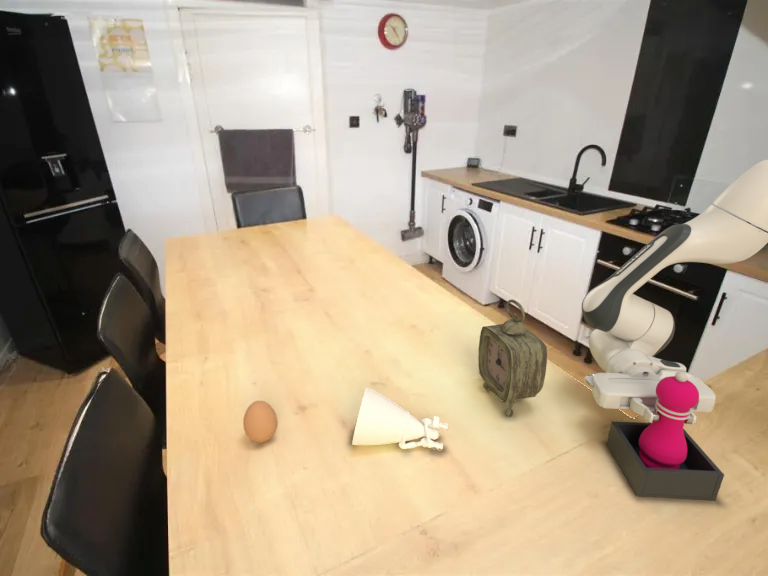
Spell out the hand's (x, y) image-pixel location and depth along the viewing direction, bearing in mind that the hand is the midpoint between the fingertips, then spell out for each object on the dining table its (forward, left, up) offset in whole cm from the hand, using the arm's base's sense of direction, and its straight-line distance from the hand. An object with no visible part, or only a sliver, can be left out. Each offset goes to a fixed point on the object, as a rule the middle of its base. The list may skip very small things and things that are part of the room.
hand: (673, 420), depth 70 cm
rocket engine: (+48, -4, -12) cm, 50 cm away
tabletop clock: (+23, -21, -12) cm, 33 cm away
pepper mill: (0, -1, -11) cm, 11 cm away
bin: (0, -1, -12) cm, 12 cm away
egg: (+76, -4, -12) cm, 77 cm away
